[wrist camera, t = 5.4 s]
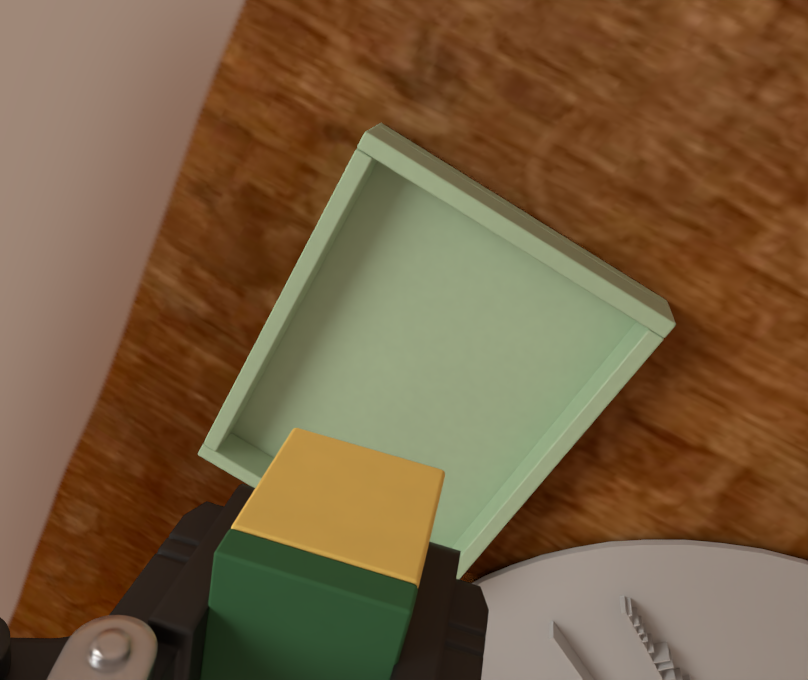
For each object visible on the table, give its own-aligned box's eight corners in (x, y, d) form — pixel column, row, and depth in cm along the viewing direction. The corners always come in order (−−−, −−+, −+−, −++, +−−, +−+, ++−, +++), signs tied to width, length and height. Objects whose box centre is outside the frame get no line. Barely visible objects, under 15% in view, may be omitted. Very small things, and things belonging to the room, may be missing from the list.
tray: (380, 121, 23) (364, 131, 21) (667, 300, 24) (677, 324, 22) (219, 427, 30) (196, 455, 28) (450, 563, 30) (442, 599, 28)
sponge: (293, 425, 14) (212, 552, 10) (446, 469, 13) (412, 613, 10) (266, 592, 15) (190, 743, 12) (399, 633, 15) (358, 799, 12)
